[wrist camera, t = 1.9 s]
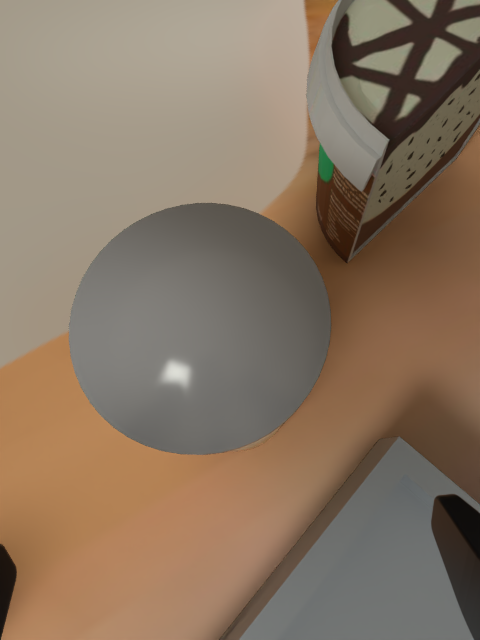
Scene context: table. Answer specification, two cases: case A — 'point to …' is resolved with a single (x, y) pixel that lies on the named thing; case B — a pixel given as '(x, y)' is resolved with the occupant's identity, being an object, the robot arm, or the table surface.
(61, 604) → the table surface
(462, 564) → the robot arm
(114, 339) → the grey round glossy part
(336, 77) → the food container
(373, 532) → the charcoal tray
